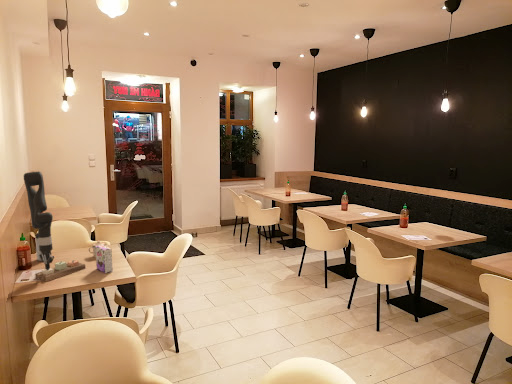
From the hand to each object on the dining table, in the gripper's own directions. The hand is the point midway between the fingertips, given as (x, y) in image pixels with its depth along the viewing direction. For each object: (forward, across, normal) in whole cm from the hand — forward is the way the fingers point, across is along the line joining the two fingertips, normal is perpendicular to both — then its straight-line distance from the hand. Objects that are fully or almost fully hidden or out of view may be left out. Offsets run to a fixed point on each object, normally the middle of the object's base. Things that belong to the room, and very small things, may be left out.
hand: (47, 269), depth 250 cm
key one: (+4, 0, 0) cm, 4 cm away
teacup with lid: (+6, -11, +46) cm, 48 cm away
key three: (+4, 0, +18) cm, 19 cm away
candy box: (+6, +21, +27) cm, 35 cm away
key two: (+3, 0, +9) cm, 9 cm away
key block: (+6, 0, +9) cm, 11 cm away
